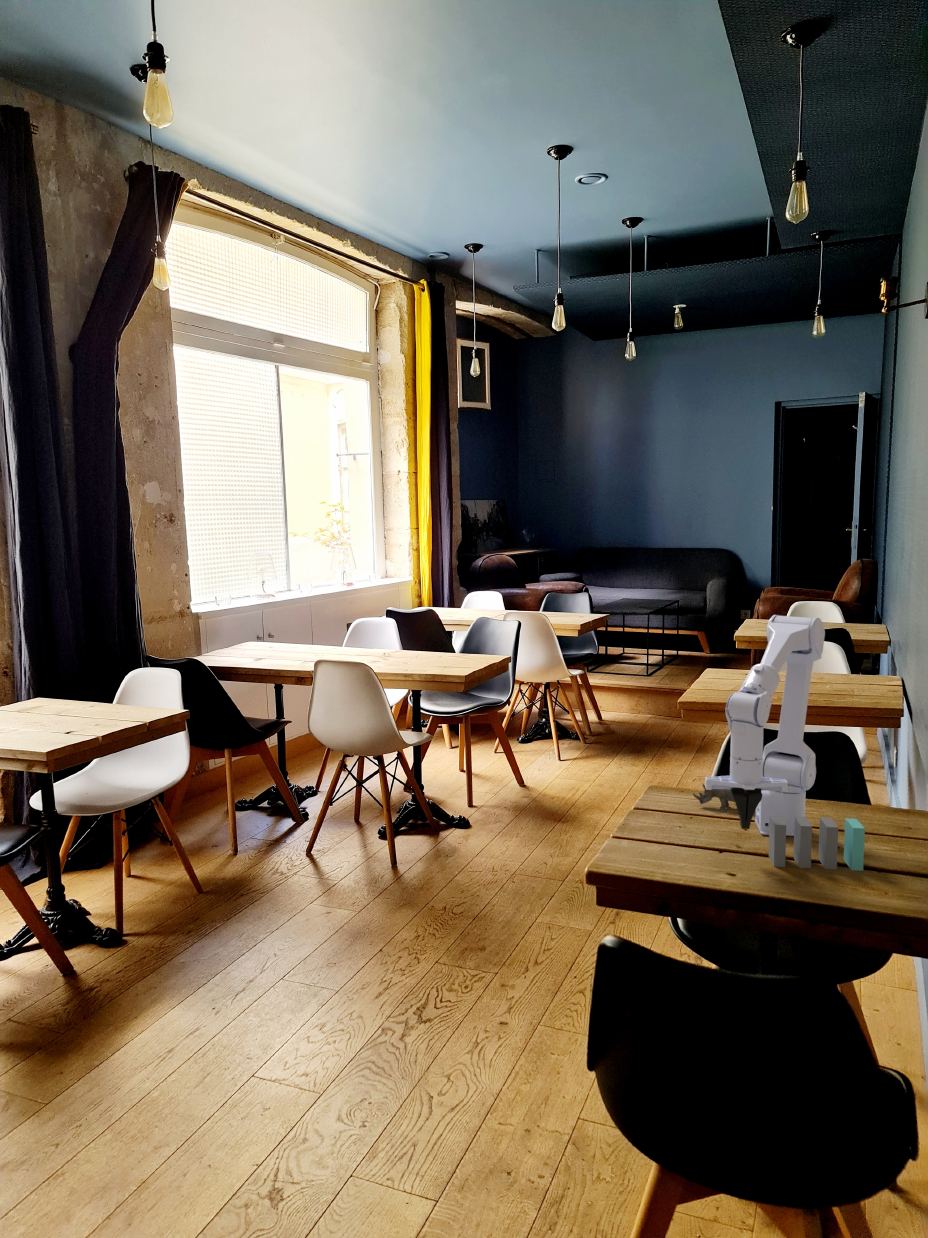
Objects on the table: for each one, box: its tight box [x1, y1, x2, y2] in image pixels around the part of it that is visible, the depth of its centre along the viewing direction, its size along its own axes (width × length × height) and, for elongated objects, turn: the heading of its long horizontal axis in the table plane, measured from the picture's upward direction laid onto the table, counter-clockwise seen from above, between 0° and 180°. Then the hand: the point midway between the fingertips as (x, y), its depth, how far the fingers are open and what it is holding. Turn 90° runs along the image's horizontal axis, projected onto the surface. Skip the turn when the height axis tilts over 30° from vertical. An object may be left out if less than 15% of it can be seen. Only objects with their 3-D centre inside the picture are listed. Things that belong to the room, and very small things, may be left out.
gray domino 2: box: [793, 816, 813, 869], centre depth 159 cm, size 2×5×8 cm, turn 171°
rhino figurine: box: [692, 783, 735, 811], centre depth 189 cm, size 4×14×6 cm, turn 77°
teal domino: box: [843, 817, 866, 872], centre depth 158 cm, size 2×5×8 cm, turn 172°
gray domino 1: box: [768, 816, 787, 868], centre depth 160 cm, size 2×5×8 cm, turn 171°
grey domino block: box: [817, 816, 839, 870], centre depth 158 cm, size 2×5×8 cm, turn 171°
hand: (744, 827), depth 160 cm, fingers closed
